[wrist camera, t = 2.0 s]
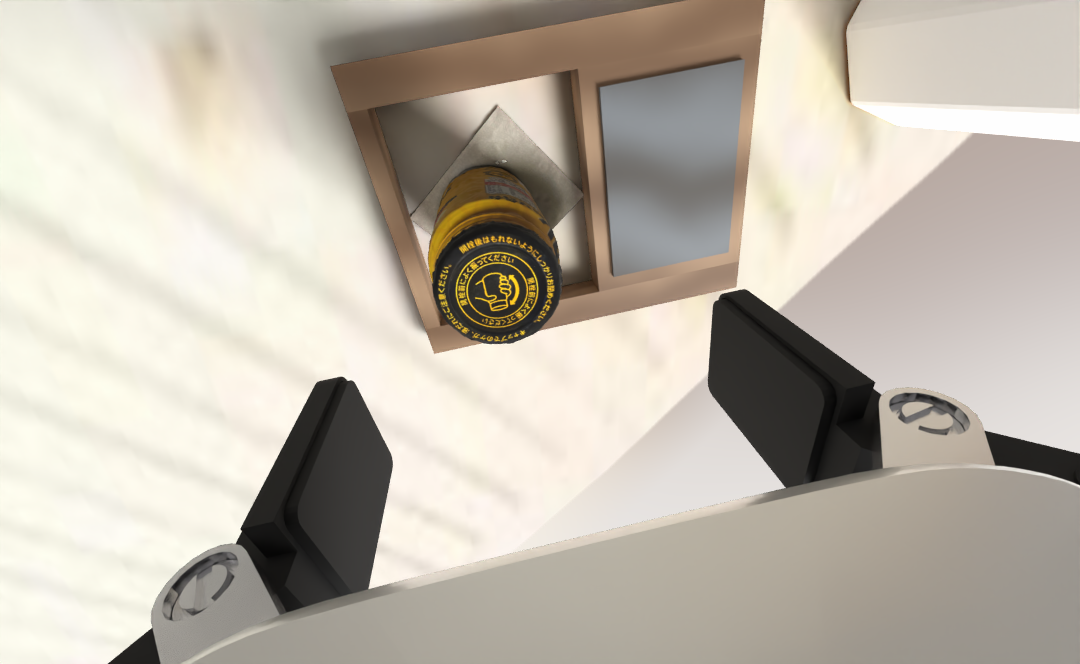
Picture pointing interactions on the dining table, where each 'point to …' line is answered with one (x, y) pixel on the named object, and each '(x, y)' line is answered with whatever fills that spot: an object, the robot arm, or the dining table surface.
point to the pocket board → (604, 144)
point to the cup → (969, 65)
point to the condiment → (497, 235)
